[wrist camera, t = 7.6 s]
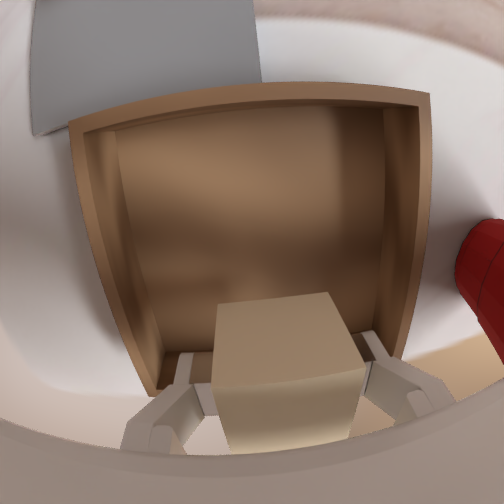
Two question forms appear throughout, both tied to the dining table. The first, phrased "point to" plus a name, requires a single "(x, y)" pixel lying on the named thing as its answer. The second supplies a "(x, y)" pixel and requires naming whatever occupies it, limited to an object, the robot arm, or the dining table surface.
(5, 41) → the dining table surface
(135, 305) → the walnut bin
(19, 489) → the robot arm
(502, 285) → the plastic cup
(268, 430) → the beige block
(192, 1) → the slate board
